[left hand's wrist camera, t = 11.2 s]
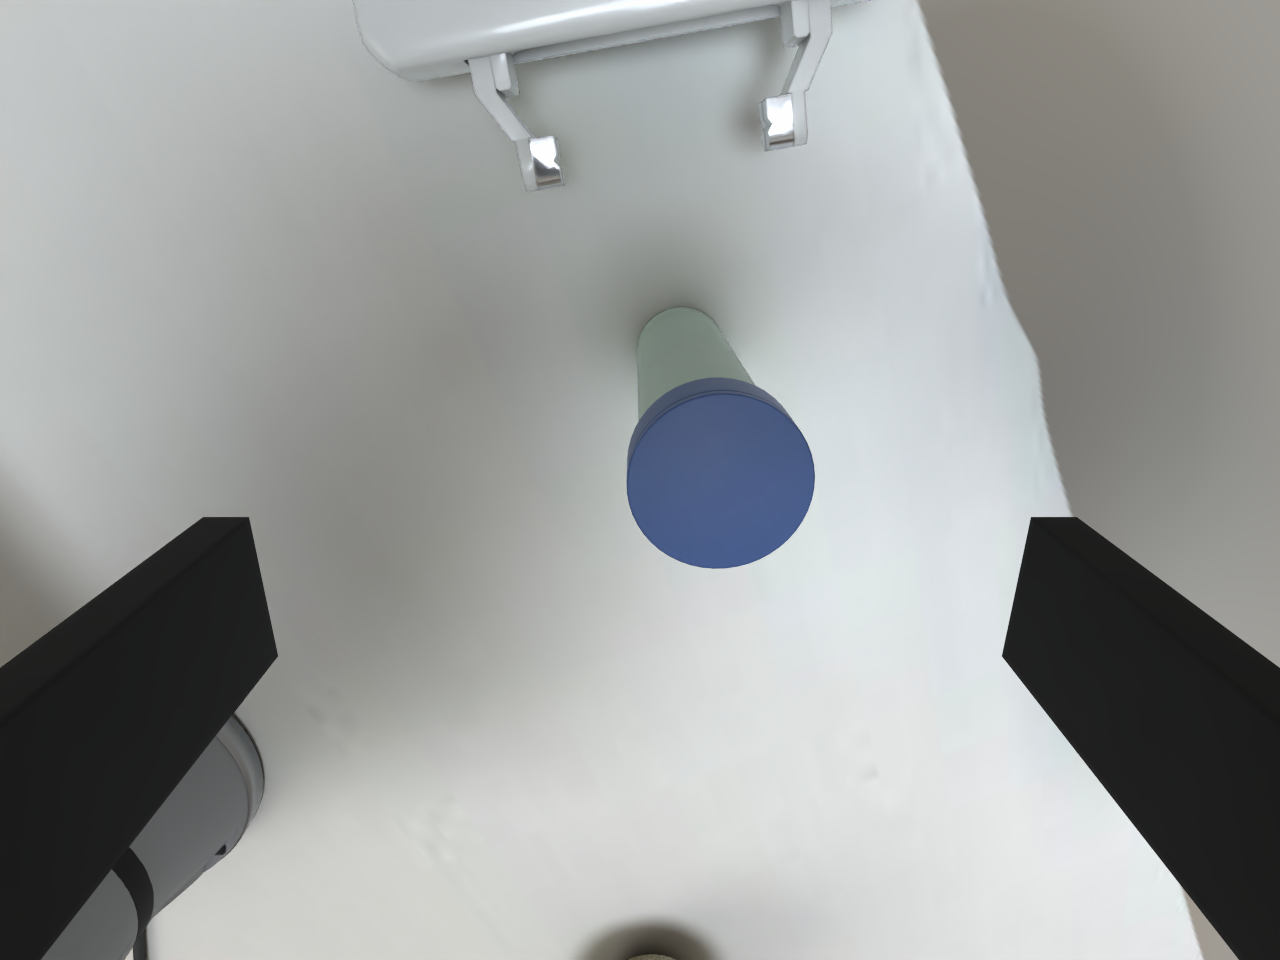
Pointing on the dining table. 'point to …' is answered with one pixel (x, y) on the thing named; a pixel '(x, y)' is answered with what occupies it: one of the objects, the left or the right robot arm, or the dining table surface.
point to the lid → (718, 473)
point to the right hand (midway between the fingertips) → (664, 168)
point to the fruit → (651, 957)
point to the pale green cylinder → (682, 354)
